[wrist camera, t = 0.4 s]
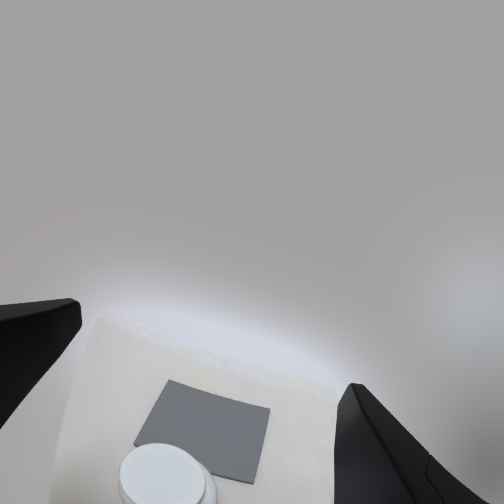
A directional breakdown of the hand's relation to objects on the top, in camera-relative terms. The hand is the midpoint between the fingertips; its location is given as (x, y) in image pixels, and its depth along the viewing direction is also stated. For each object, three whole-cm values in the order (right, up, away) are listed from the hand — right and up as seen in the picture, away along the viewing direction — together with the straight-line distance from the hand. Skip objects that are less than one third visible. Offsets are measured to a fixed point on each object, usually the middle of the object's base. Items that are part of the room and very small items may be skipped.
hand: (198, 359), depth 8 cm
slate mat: (-2, -12, +12) cm, 17 cm away
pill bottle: (-4, -16, +5) cm, 17 cm away
